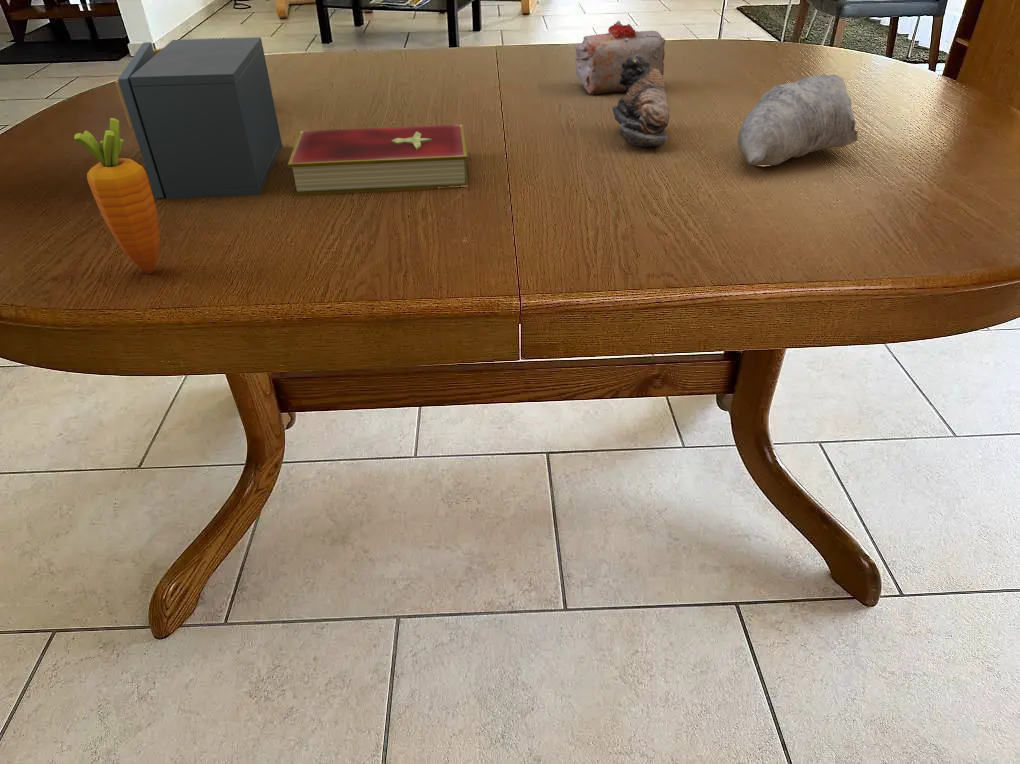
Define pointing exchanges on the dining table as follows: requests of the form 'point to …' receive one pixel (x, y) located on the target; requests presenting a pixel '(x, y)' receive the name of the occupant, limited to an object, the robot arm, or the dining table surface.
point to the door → (134, 114)
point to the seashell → (798, 121)
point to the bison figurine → (642, 103)
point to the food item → (615, 56)
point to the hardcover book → (379, 159)
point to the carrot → (124, 198)
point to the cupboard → (209, 116)
